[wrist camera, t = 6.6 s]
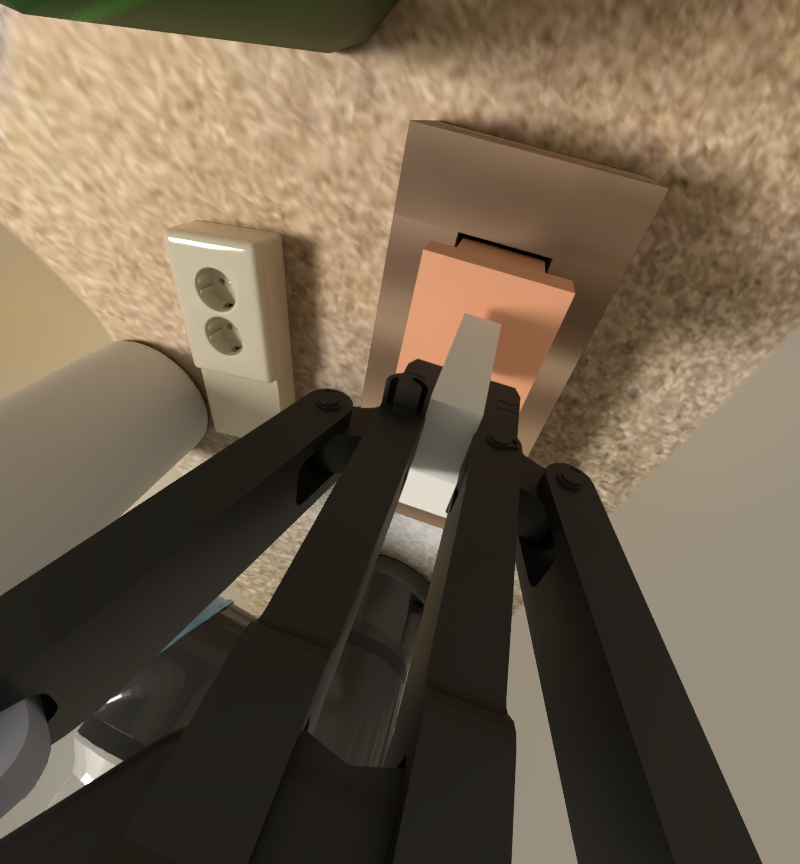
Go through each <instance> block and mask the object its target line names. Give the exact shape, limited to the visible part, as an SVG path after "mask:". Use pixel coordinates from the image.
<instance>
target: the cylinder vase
mask: <svg viewBox="0 0 800 864" xmlns="http://www.w3.org/2000/svg"><path fill="white" fill-rule="evenodd" d="M207 425H208V415H207V409H206V405H205V402H204V400H203V398H202V395H201V393H200V392H199V390H198V388H197V387H196V385H195V384H194V382H193V381H192V380H191V378H190V377H189V376H188V375H187V374H186V373H185V371H184V370H183V369H182V368H181V367H179V366H178V365H177V364H176V363H175V362H174V361H172V360H171V359H170V358H168V357H167V356H165V355H164V354H162V353H161V352H159V351H157V350H155V349H153V348H151V347H149V346H146V345H143V344H140V343H136V342H129V341H118V342H112V343H109V344H107V345H105V346H103V347H101V348H99V349H97V350H95V351H93V352H91V353H89V354H87V355H85V356H83V357H81V358H79V359H77V360H76V361H73V362H72V363H70V364H68V365H66V366H64V367H62V368H60V369H58V370H56V371H54V372H52V373H50V374H48V375H46V376H44V377H42V378H41V379H39V380H37V381H35V382H33V383H31V384H29V385H27V386H25V387H23V388H21V389H19V390H17V391H15V392H13V393H11V394H9V395H7V396H5V397H4V398H2V399H0V596H1V595H2V594H4V593H5V592H7V591H8V590H10V589H11V588H13V587H14V586H16V585H18V584H19V583H21V582H22V581H24V580H25V579H27V578H28V577H30V576H31V575H33V574H34V573H36V572H37V571H39V570H40V569H42V568H43V567H45V566H46V565H48V564H50V563H51V562H53V561H54V560H56V559H57V558H59V557H60V556H62V555H63V554H65V553H66V552H68V551H69V550H71V549H72V548H74V547H75V546H77V545H78V544H80V543H82V542H83V541H85V540H86V539H88V538H89V537H91V536H92V535H94V534H95V533H97V532H98V531H100V530H101V529H103V528H104V527H106V526H107V525H109V524H111V523H112V522H114V521H115V520H117V519H118V518H119V517H120V516H121V515H122V514H123V513H124V512H125V511H126V510H128V509H129V508H130V507H131V506H132V505H133V504H134V503H135V502H136V501H137V500H138V499H139V498H140V497H141V496H142V495H144V494H145V493H146V492H147V491H148V490H149V489H150V488H151V487H152V486H153V485H154V484H155V483H156V482H157V481H158V480H159V479H161V478H162V477H163V476H164V475H165V474H166V473H167V472H168V471H169V470H170V469H171V468H172V467H173V466H174V465H175V464H176V463H178V462H179V461H180V460H181V459H182V458H183V457H184V456H185V455H186V454H187V453H188V452H189V451H190V450H191V449H192V448H193V447H195V446H196V445H197V444H198V443H199V442H200V441H201V440H202V438H203V437H204V435H205V433H206V430H207Z"/></svg>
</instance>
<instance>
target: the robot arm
mask: <svg viewBox="0 0 800 864" xmlns="http://www.w3.org/2000/svg"><path fill="white" fill-rule="evenodd" d="M500 329H501V324H500V323H496V322H493V321H490V320H486V319H483V318H480V317H476V316H473V315H470V314H466V313H464V316H463V318H462V321H461V323H460V326H459V328H458V331H457V333H456V336H455V338H454V341H453V343H452V346H451V348H450V351H449V353H448V356H447V358H446V361H445V363H444V366H440V365H436V364H433V363H430V362H427V361H424V360H421V359H416V360H414V361H412V362H410V363H408V365H407V367H406V369H405V370H404V372H403V373H396V374H393V375H390V376H389V377H388V378H387V379H386V383H385V388H384V393H383V398H382V403H381V405H380V406H378V407H373V408H361V407H353V402H352V400H351V399H350V397H349V396H347V395H346V394H345V393H343V392H340V391H338V390H335V389H317V390H315V391H312V392H310V393H309V394H307V395H306V396H304V397H303V398H301V399H299V400H298V401H296V402H295V403H293V404H292V405H290V406H289V407H287V408H286V409H284V410H283V411H281V412H280V413H278V414H277V415H275V416H274V417H272V418H271V419H269V420H267V421H266V422H264V423H263V424H261V425H260V426H258V427H257V428H255V429H254V430H252V431H251V432H249V433H248V434H246V435H245V436H243V437H242V438H240V439H239V440H237V441H235V442H234V443H232V444H231V445H229V446H228V447H226V448H225V449H223V450H222V451H220V452H219V453H217V454H216V455H214V456H213V457H211V458H210V459H208V460H207V461H205V462H203V463H202V464H200V465H199V466H197V467H196V468H194V469H193V470H191V471H190V472H188V473H187V474H185V475H184V476H182V477H181V478H179V479H178V480H176V481H175V482H173V483H171V484H170V485H168V486H167V487H165V488H164V489H162V490H161V491H159V492H158V493H156V494H155V495H153V496H152V497H150V498H149V499H147V500H146V501H144V502H143V503H141V504H139V505H138V506H136V507H135V508H133V509H132V510H130V511H129V512H127V513H126V514H124V515H123V516H121V517H120V518H118V519H117V520H115V521H114V522H112V523H111V524H109V525H107V526H106V527H104V528H103V529H101V530H100V531H98V532H97V533H95V534H94V535H92V536H91V537H89V538H88V539H86V540H85V541H83V542H82V543H80V544H78V545H77V546H75V547H74V548H72V549H71V550H69V551H68V552H66V553H65V554H63V555H62V556H60V557H59V558H57V559H56V560H54V561H53V562H51V563H50V564H48V565H46V566H45V567H43V568H42V569H40V570H39V571H37V572H36V573H34V574H33V575H31V576H30V577H28V578H27V579H25V580H24V581H22V582H21V583H19V584H18V585H16V586H14V587H13V588H11V589H10V590H8V591H7V592H5V593H4V594H2V595H1V596H0V819H1V818H2V817H3V816H4V815H5V814H6V813H7V812H8V811H9V810H11V809H12V808H13V807H14V806H15V805H16V804H17V803H18V802H19V801H21V800H22V799H24V798H25V797H26V796H27V795H28V794H29V793H30V791H31V790H32V789H33V788H34V787H35V785H36V783H37V781H38V780H39V778H40V776H41V774H42V772H43V770H44V769H45V767H46V765H47V762H48V758H49V754H50V751H51V745H52V744H53V743H55V742H56V741H58V740H59V739H61V738H62V737H64V736H66V735H67V734H68V733H70V732H71V731H72V730H73V729H75V728H76V727H77V726H79V725H80V724H81V723H83V722H84V723H83V724H82V725H81V727H80V728H79V729H78V731H77V732H76V734H75V735H74V745H75V764H74V768H73V771H72V773H71V774H70V775H69V777H68V778H67V780H66V781H65V783H64V784H63V785H62V787H61V788H60V789H59V791H58V793H57V794H56V795H55V796H54V798H53V799H52V801H51V802H50V803H49V805H48V806H47V808H46V809H45V810H44V812H42V813H41V814H39V815H38V816H36V817H34V818H33V819H31V820H30V821H28V822H27V823H25V824H23V825H22V826H21V827H19V828H17V829H16V830H14V831H13V832H11V833H9V834H8V835H6V836H5V837H3V838H1V839H0V864H511V859H512V836H513V814H514V813H513V812H514V791H515V768H516V731H515V726H514V721H513V720H512V719H511V717H510V716H509V715H508V714H507V709H506V695H507V679H508V664H509V648H510V633H511V618H512V603H513V587H514V572H515V562H516V567H517V572H518V577H519V581H520V586H521V591H522V596H523V601H524V605H525V610H526V615H527V620H528V624H529V630H530V634H531V639H532V644H533V649H534V654H535V658H536V663H537V668H538V673H539V678H540V683H541V688H542V692H543V697H544V702H545V706H546V712H547V716H548V721H549V726H550V731H551V736H552V741H553V745H554V750H555V755H556V760H557V765H558V770H559V774H560V779H561V784H562V789H563V794H564V798H565V803H566V808H567V813H568V818H569V823H570V827H571V832H572V837H573V842H574V846H575V851H576V856H577V861H578V864H762V862H761V860H760V858H759V855H758V853H757V851H756V849H755V846H754V844H753V842H752V839H751V837H750V835H749V833H748V831H747V828H746V826H745V824H744V822H743V819H742V817H741V815H740V812H739V810H738V808H737V806H736V803H735V801H734V799H733V797H732V795H731V792H730V790H729V788H728V785H727V783H726V781H725V779H724V776H723V774H722V772H721V770H720V768H719V765H718V763H717V761H716V759H715V756H714V754H713V752H712V750H711V747H710V745H709V743H708V741H707V738H706V736H705V734H704V731H703V730H702V727H701V725H700V723H699V720H698V718H697V716H696V714H695V711H694V709H693V707H692V704H691V702H690V700H689V698H688V696H687V693H686V691H685V689H684V687H683V684H682V682H681V680H680V678H679V675H678V673H677V671H676V669H675V666H674V664H673V662H672V660H671V657H670V655H669V653H668V651H667V648H666V646H665V644H664V642H663V639H662V637H661V635H660V633H659V630H658V628H657V626H656V624H655V621H654V619H653V617H652V615H651V612H650V610H649V608H648V606H647V603H646V601H645V599H644V597H643V594H642V592H641V590H640V588H639V585H638V583H637V581H636V579H635V576H634V574H633V572H632V570H631V567H630V565H629V563H628V561H627V558H626V556H625V554H624V552H623V549H622V547H621V545H620V543H619V540H618V538H617V536H616V534H615V531H614V529H613V527H612V525H611V522H610V520H609V518H608V516H607V513H606V511H605V509H604V507H603V504H602V502H601V500H600V498H599V495H598V493H597V491H596V489H595V486H594V484H593V483H592V481H591V480H590V478H589V477H588V476H587V475H586V474H585V473H583V472H582V471H581V470H579V469H578V468H576V467H574V466H571V465H568V464H565V463H553V464H551V465H549V466H548V467H547V469H545V468H543V467H541V466H539V465H538V464H536V463H534V462H533V461H531V460H530V459H528V458H527V457H526V456H525V455H524V454H523V453H522V444H521V442H520V441H519V439H518V438H517V437H518V424H519V411H520V408H519V407H520V399H521V398H520V396H519V394H518V392H517V390H516V388H513V387H510V386H507V385H504V384H501V383H497V382H494V381H491V380H490V379H491V374H492V369H493V364H494V359H495V354H496V349H497V344H498V339H499V334H500ZM410 469H411V470H414V471H417V472H420V473H423V474H426V475H429V476H432V477H435V478H438V479H441V480H443V481H446V482H449V483H452V484H456V482H457V484H456V487H455V489H454V491H453V494H452V496H451V499H450V501H449V504H448V506H447V509H446V511H445V512H446V513H447V517H446V521H445V525H444V529H443V534H442V538H441V542H440V546H439V550H438V554H437V558H436V562H435V566H434V570H433V574H432V578H431V582H430V585H429V583H428V582H427V581H426V580H425V579H424V578H423V577H422V576H421V575H419V574H418V573H417V572H416V571H414V570H413V569H411V568H410V567H408V566H406V565H404V564H402V563H400V562H398V561H396V560H394V559H391V558H388V557H385V556H382V555H379V553H380V550H381V547H382V545H383V542H384V539H385V536H386V534H387V531H388V528H389V526H390V523H391V520H392V518H393V515H394V512H395V510H396V507H397V504H398V502H399V499H400V496H401V493H402V491H403V488H404V485H405V483H406V480H407V477H408V473H409V470H410ZM457 479H458V480H457ZM337 480H338V481H337ZM336 481H337V483H336V485H335V486H334V488H333V490H332V492H331V494H330V495H329V497H328V499H327V501H326V502H325V504H324V506H323V508H322V510H321V511H320V513H319V515H318V517H317V518H316V520H315V522H314V524H313V526H312V527H311V529H310V531H309V533H308V534H307V536H306V538H305V540H304V542H303V543H302V545H301V547H300V549H299V551H298V552H297V554H296V556H295V558H294V559H293V561H292V563H291V565H290V567H289V568H288V570H287V572H286V574H285V575H284V577H283V579H282V581H281V583H280V584H279V586H278V588H277V590H276V591H275V593H274V595H273V597H272V599H271V600H270V602H269V604H268V606H267V607H266V609H265V611H264V612H263V614H262V615H261V616H260V617H259V618H257V617H255V616H253V615H251V614H250V613H248V612H246V611H245V610H243V609H241V608H239V607H238V606H236V605H234V601H232V600H226V599H224V598H222V597H220V596H219V595H220V594H221V593H222V592H223V591H224V590H225V589H226V588H227V587H228V586H229V585H230V584H231V583H232V582H233V581H234V580H235V579H236V578H237V577H238V576H239V575H240V574H241V573H242V572H243V571H245V570H246V569H247V568H248V567H249V566H250V565H251V564H252V563H253V562H254V561H255V560H256V559H257V558H258V557H259V556H260V555H261V554H262V553H263V552H264V551H265V550H266V549H267V548H268V547H269V546H270V545H271V544H272V543H273V542H274V541H275V540H276V539H277V538H279V537H280V536H281V535H282V534H283V533H284V532H285V531H286V530H287V529H288V528H289V527H290V526H291V525H292V524H293V523H294V522H295V521H296V520H297V519H298V518H299V517H300V516H301V515H302V514H303V513H304V512H305V511H306V510H307V509H308V508H309V507H310V506H312V505H313V504H314V503H315V502H316V501H317V500H318V499H319V498H320V497H321V496H322V495H323V494H324V493H325V492H326V491H327V490H328V489H329V488H330V487H331V486H332V485H333V484H334V483H335V482H336ZM409 666H410V668H409ZM408 669H409V672H408ZM407 672H408V676H407ZM406 676H407V680H406ZM405 680H406V685H405V689H404V693H403V688H404V684H405ZM402 693H403V697H402ZM401 697H402V701H401ZM400 701H401V705H400ZM399 705H400V709H399ZM398 710H399V713H398ZM397 714H398V717H397ZM396 718H397V721H396ZM395 722H396V725H395ZM394 727H395V729H394ZM393 731H394V732H393ZM392 735H393V736H392Z"/></svg>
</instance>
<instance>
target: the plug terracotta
mask: <svg viewBox="0 0 800 864" xmlns="http://www.w3.org/2000/svg"><path fill="white" fill-rule="evenodd" d="M574 295H575V289H574V284H573V281H571V280H568V279H564V278H561V277H558V276H554V275H551V274H547V273H545V261H544V260H541V259H537V258H534V257H530V256H527V255H523V254H520V253H516V252H513V251H509V250H506V249H502V248H499V247H495V246H492V245H488V244H485V243H481V242H478V241H474V240H471V239H467V238H464V237H463V239H462V240H461V242H460V243H459V245H458V246H457V247H453V246H450V245H446V244H443V243H439V242H436V241H432V240H431V241H430V243H429V244H428V245H427V246H426V247H425V248H424V249H423V253H422V257H421V262H420V266H419V271H418V275H417V280H416V284H415V289H414V293H413V298H412V302H411V307H410V311H409V315H408V320H407V324H406V329H405V333H404V338H403V342H402V347H401V351H400V356H399V360H398V365H397V369H396V373H403V372H404V370H405V369H406V367H407V365H408V363H410V362H412V361H414V360H416V359H421V360H424V361H427V362H430V363H433V364H436V365H440V366H444V363H445V361H446V358H447V356H448V353H449V351H450V348H451V346H452V343H453V341H454V338H455V336H456V333H457V331H458V328H459V326H460V323H461V321H462V318H463V316H464V313H466V314H470V315H473V316H476V317H480V318H483V319H486V320H490V321H493V322H496V323H500V324H501V329H500V334H499V339H498V344H497V349H496V354H495V359H494V364H493V369H492V374H491V379H490V380H491V381H494V382H497V383H501V384H504V385H507V386H510V387H513V388H516V390H517V392H518V394H519V396H520V398H521V399H520V407H519V408H520V410H521V408H522V406H523V404H524V402H525V400H526V398H527V396H528V393H529V391H530V389H531V387H532V385H533V383H534V381H535V379H536V376H537V374H538V372H539V370H540V368H541V366H542V364H543V361H544V359H545V357H546V355H547V353H548V351H549V349H550V347H551V344H552V342H553V340H554V338H555V336H556V334H557V332H558V330H559V327H560V325H561V323H562V321H563V319H564V317H565V315H566V312H567V310H568V308H569V306H570V304H571V302H572V300H573V298H574ZM519 413H520V411H519Z"/></svg>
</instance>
